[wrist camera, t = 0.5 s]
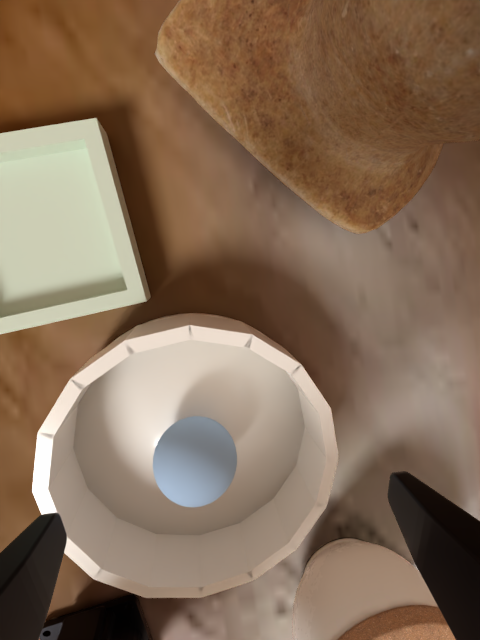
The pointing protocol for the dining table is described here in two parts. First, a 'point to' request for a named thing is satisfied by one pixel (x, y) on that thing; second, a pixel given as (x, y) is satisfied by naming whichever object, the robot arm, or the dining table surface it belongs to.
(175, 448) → the ball
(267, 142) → the tan boot vase
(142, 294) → the tray
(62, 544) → the robot arm
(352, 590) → the lidded jar
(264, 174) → the dining table surface
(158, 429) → the bowl
